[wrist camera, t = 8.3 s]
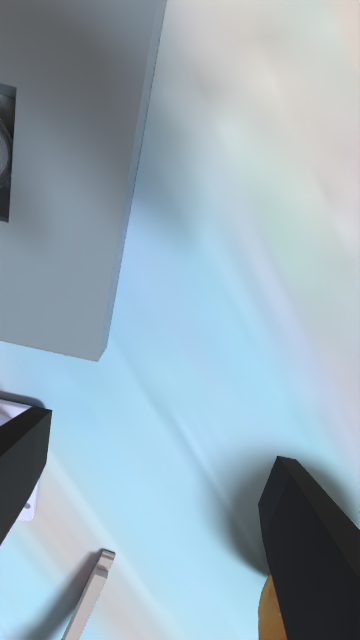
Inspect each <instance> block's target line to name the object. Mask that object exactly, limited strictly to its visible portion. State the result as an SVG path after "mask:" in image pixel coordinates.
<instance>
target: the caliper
mask: <svg viewBox="0 0 360 640" xmlns="http://www.w3.org/2000/svg"><path fill="white" fill-rule="evenodd" d="M114 557H115V554H114V553H111V552H108V551H105V550H103V552H102V554H101V556H100V558H99V560H98V561H97V563H96V565H95V567H94V569H93V571H92V573H91V575H90V577H89V580H88V582H87V584H86V586H85V589H84V591H83V593H82V595H81V597H80V600H79V602H78V604H77V606H76V608H75V611H74V613H73V615H72V617H71V619H70V622H69V624H68V626H67V628H66V631H65V633H64V635H63V637H62V639H61V640H79V638H80V636H81V634H82V631H83V629H84V627H85V625H86V623H87V621H88V618H89V616H90V614H91V612H92V610H93V608H94V605H95V603H96V601H97V599H98V597H99V594H100V592H101V590H102V588H103V586H104V584H105V581H106V579H107V576H108V571H109V569H110V567H111V565H112V563H113V560H114Z"/></svg>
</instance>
